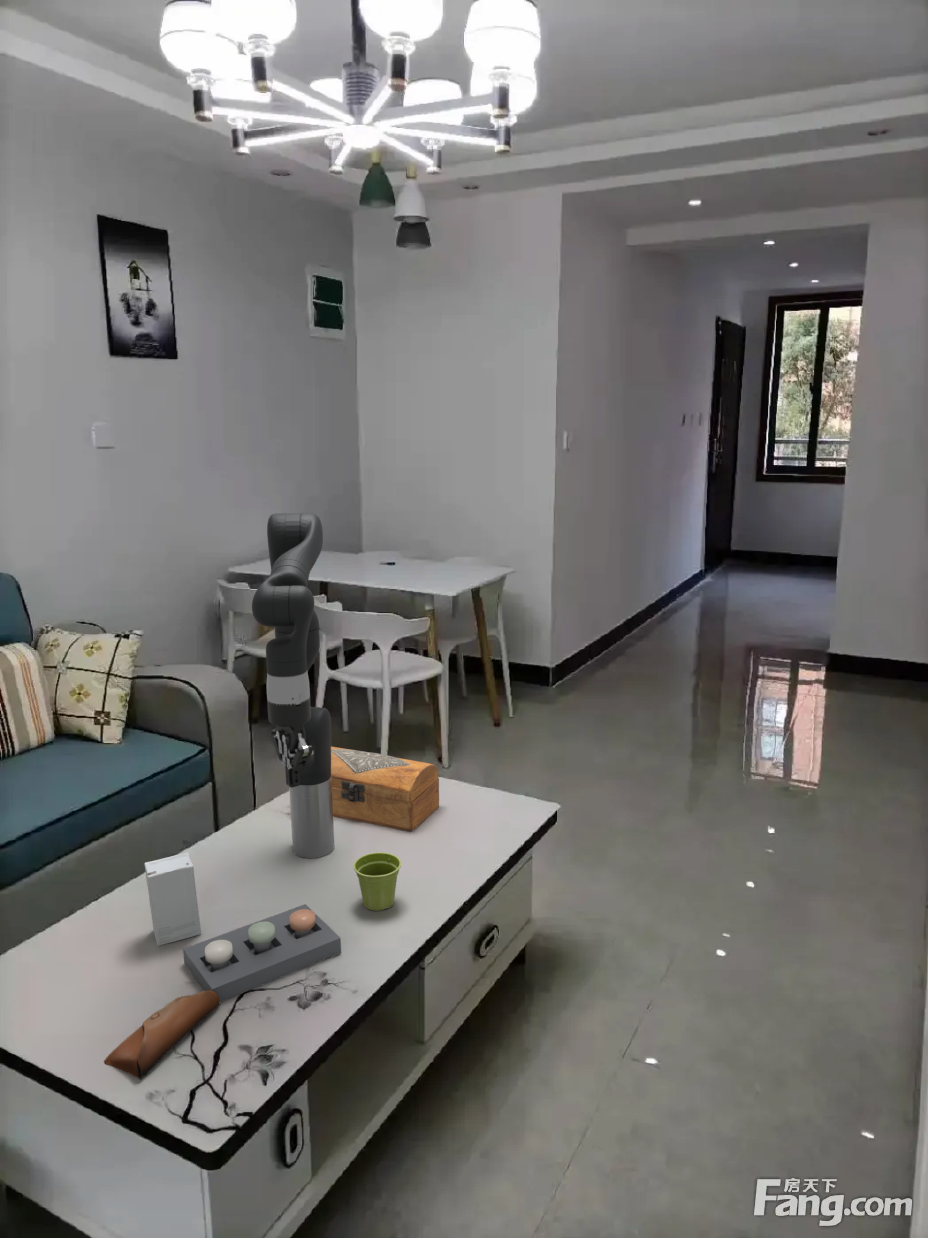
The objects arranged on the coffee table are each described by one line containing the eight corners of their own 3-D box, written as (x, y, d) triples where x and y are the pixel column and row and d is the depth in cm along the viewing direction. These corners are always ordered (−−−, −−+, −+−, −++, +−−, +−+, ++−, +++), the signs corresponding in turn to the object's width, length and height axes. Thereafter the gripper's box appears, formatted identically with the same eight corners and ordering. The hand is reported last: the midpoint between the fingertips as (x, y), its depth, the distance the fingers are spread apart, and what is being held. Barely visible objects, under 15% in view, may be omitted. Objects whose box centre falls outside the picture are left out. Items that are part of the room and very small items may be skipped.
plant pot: (395, 918, 171) (393, 878, 169) (348, 913, 173) (346, 873, 171) (407, 893, 180) (406, 854, 178) (363, 888, 182) (361, 850, 180)
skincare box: (196, 920, 171) (190, 850, 168) (201, 936, 166) (195, 864, 162) (150, 931, 168) (143, 860, 164) (154, 948, 162) (147, 875, 159)
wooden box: (300, 813, 216) (297, 760, 213) (337, 787, 231) (335, 737, 228) (408, 836, 204) (407, 780, 201) (440, 807, 219) (439, 755, 216)
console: (184, 963, 158) (182, 948, 157) (306, 918, 172) (305, 904, 171) (213, 1005, 147) (212, 989, 146) (341, 952, 161) (340, 938, 160)
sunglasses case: (180, 993, 150) (194, 968, 147) (210, 1021, 148) (225, 996, 146) (99, 1064, 134) (112, 1038, 131) (132, 1096, 132) (146, 1070, 129)
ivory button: (202, 968, 155) (200, 946, 154) (227, 958, 157) (226, 936, 156) (212, 981, 151) (210, 959, 150) (238, 971, 154) (236, 949, 153)
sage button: (245, 949, 159) (244, 927, 158) (269, 940, 162) (268, 918, 161) (256, 961, 156) (254, 939, 155) (280, 952, 158) (278, 930, 157)
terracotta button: (286, 936, 164) (285, 915, 163) (308, 927, 167) (307, 906, 166) (297, 948, 160) (296, 926, 159) (320, 939, 163) (319, 917, 162)
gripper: (253, 690, 161) (259, 778, 165) (285, 709, 151) (290, 803, 155) (291, 682, 165) (296, 769, 169) (324, 701, 155) (328, 792, 159)
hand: (293, 785), depth 162 cm, fingers closed
